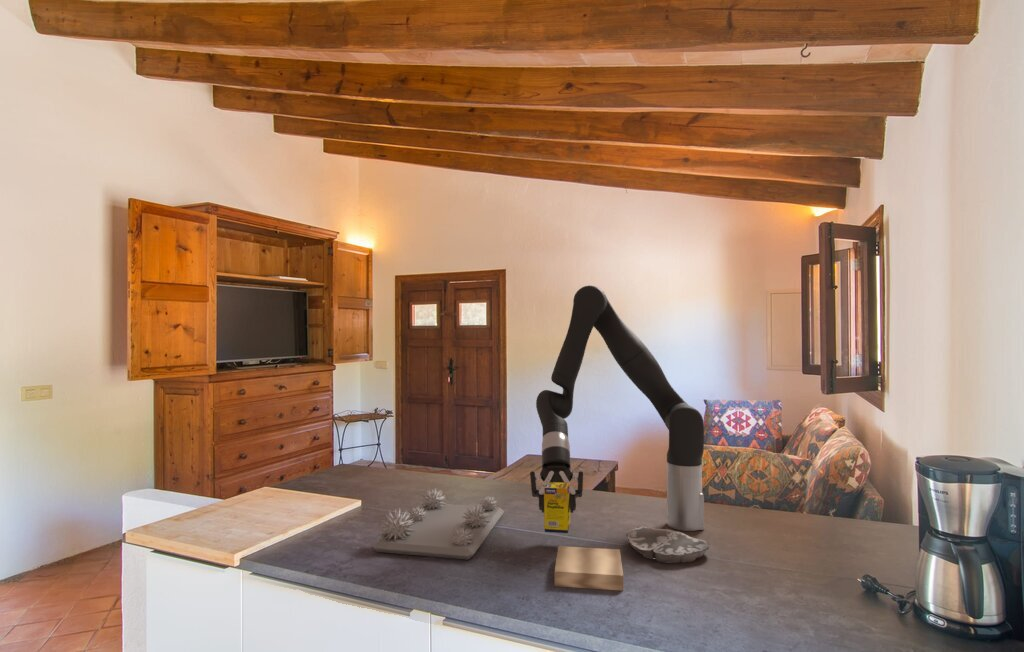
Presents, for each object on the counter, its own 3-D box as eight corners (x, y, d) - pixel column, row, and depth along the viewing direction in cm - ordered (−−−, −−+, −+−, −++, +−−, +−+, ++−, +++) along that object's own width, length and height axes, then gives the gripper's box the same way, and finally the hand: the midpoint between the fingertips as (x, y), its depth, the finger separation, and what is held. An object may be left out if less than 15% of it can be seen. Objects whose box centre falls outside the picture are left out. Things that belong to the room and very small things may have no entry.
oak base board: (619, 562, 123) (619, 549, 123) (623, 590, 109) (623, 575, 109) (558, 559, 125) (558, 546, 125) (554, 585, 111) (554, 571, 111)
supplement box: (568, 533, 130) (567, 488, 130) (544, 532, 131) (543, 487, 132) (571, 525, 136) (570, 482, 136) (547, 524, 137) (546, 481, 137)
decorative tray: (471, 565, 123) (472, 521, 123) (367, 555, 128) (367, 513, 128) (505, 516, 157) (505, 482, 157) (421, 511, 162) (421, 477, 163)
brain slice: (611, 554, 129) (611, 542, 129) (640, 534, 142) (640, 523, 142) (693, 576, 117) (693, 562, 117) (716, 552, 130) (716, 539, 130)
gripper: (528, 445, 142) (527, 503, 130) (583, 444, 141) (587, 503, 129) (529, 460, 147) (528, 518, 135) (582, 460, 146) (586, 518, 134)
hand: (557, 511), depth 132 cm, fingers closed on supplement box, 6 cm apart
